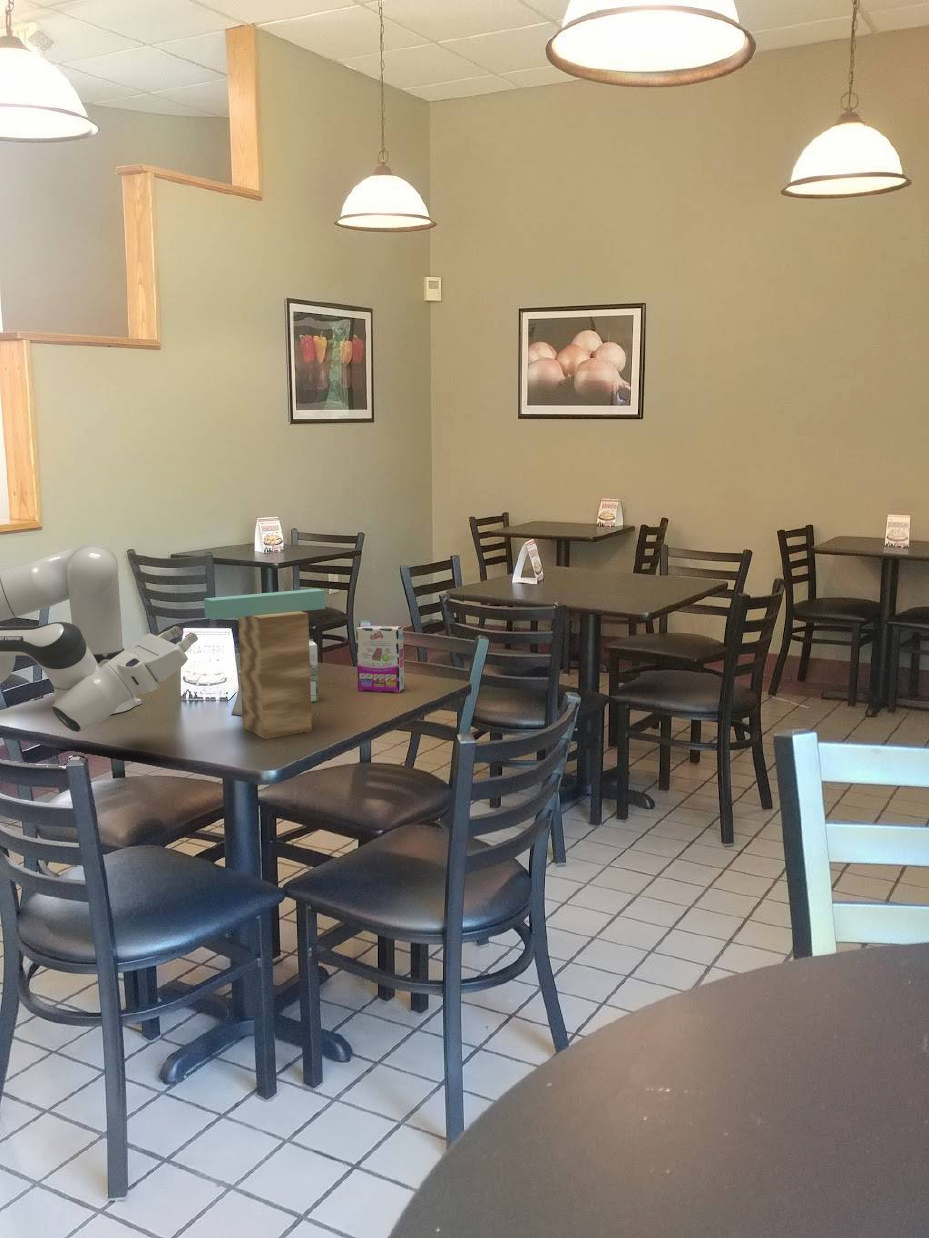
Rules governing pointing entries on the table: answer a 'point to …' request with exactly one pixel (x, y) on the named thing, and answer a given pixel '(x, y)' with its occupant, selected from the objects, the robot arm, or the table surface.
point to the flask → (238, 701)
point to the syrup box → (313, 671)
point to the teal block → (264, 603)
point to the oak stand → (275, 674)
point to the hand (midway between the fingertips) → (187, 632)
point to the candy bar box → (380, 659)
